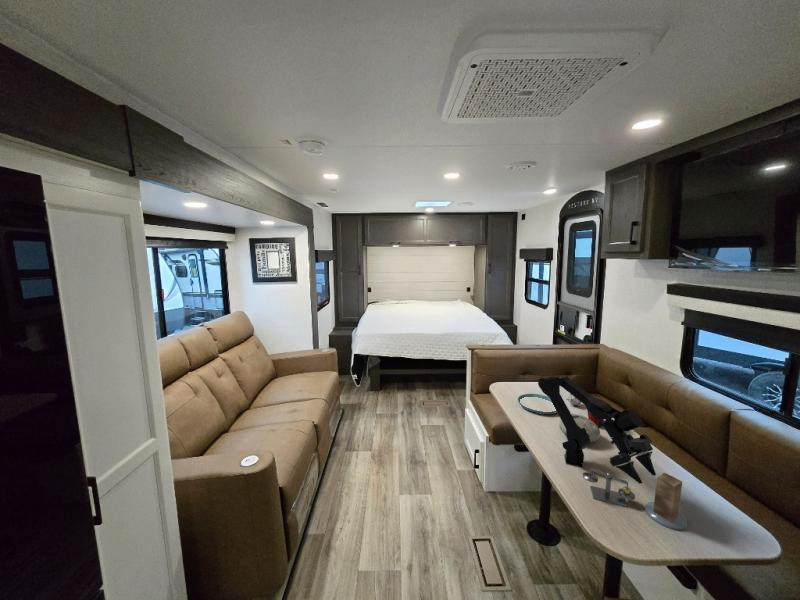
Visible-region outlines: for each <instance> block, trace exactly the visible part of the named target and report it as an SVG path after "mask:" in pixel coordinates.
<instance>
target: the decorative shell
mask: <svg viewBox="0 0 800 600" xmlns="http://www.w3.org/2000/svg"><path fill="white" fill-rule="evenodd" d="M571 415H572V417H573V418H574V420H575V422H576V424H577V425H578V426H579V427H580V428H585V429H586V432H587V434H588V435H589V436H590V437H589V438H590V443H593V442H596V441H598V440H599V439H600V437H601V429H600V428H598V426H597V425H596V424H595V423H594V422H592V421H591V420H589V418H588V417H586V416H584V415H582V414H581V415H580V414H575V413H571ZM558 427H559V429H560V431H561V432H562V433H563V434H565V435H566V428H565V426H564V424H563V422H562V420H561V419H560V421H559V425H558Z"/></svg>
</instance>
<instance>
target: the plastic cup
mask: <svg viewBox="0 0 800 600" xmlns="http://www.w3.org/2000/svg"><path fill="white" fill-rule="evenodd" d="M586 410H587V409H586ZM586 412H587V418H588V419H589V420H591V421H592V422H594V423H595V424H596V425H597V426H598V423H599V420H598V419H596V418H594V417H593V416H592V415H591V414H590V413H589V412H588V410H587V411H586ZM602 420H604V421H605V419H602Z"/></svg>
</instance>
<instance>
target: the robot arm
mask: <svg viewBox="0 0 800 600" xmlns="http://www.w3.org/2000/svg"><path fill="white" fill-rule="evenodd" d="M537 385H538V387H539V388H540V390H541V392H542V393H543V394H544V395H545V396H548V397H549V398H550V400H551V401H552V403H553V405H554V407H555V409H556V411H557V412H556V413H557V414H558V416H559V418H560V420H562V422H563V424H564V426H565V428H566V434H565V436H566V439H567V441H564V442H562V443H561V444H562V448H563V449H564V450H565V453H564V461H565V464H567V465H569V466H570V465H571V466H575V467H580V468H583V467H584V462H585V461H584V460H585V453H584V451H583V450H584V449H586V448H587V447H589V446H590V445H591V442H590V438H589V437H590V436H589V435H588V434H587V432H586V429H585V428H580V427H579V426H578V425H577V424H576V422H575V420H574V418H573V417H572V415H571V414H572V413H571V410H569V407H568V405H567V404H566V402H565V400H564V398H563V397H562V394H561V392H560V390H561V388H563V389H564V390H565V391H566V392H568V394H569V395H570V394H571V395H573V396H574V397H575V398H576V399H578V400H579V401H580V402H581V404H582V405H583V406H585V409H586V410H588V412H589V413H590V414H591V415H592V416H593V417H594V418H596V419H598V420H599V423H598V428H599V429H600V428H603V429H604V430H605V432H606V433H607V435H608V436H609V437H610V439H611V441H610V443H611V445H615V447H616V448H617V450H618V452H617V454H615V455H613V456H611V457H609V463H610V465H611V466H612V467H615V468H616V469H619V470H620V471H622V472H623V473H625V474H626V475H628V476H629V477H630V478H631V479H633V480H634V481H636V483H638V484H643V481H642V479H641V477H640V475H639V474H638V472H637V470H636V469H635V465H634V463H635V462H634V460H632V458H633V457H634V458H635V459H636V460H637V461H638V462H639V463H640V464H641V466H643V467H644V468H645V470H646V471H648V473H650V474H651V475H652V476H656V475H657V472H656V470H655V467H654V465H653V462H652V458H651V457H652V453H653V451H652V450H654V448H653V447H652V443H653V440H652V439H651V438H650V437H649V435H647V434H646V433H645V434H640V435H639V437H633V435H632V434H630V433H629V434H627V432H630V431H633V430H636V429H638V428H641V427H643V425H644V424H643V420H642V418H641V417H640V415H638V414H637V413H636V412H635V411H632V410H631V408H626V409H623V410H622V411H621V410H618V409H617V408H614V407H613V406H612V405H611V404H610V403H608V402H607V401H605V400H603V399H601V398H597V397H595V396H593V395H591V394H590V393H589V392H587V391H586V390H584V389H583V388H582V387H580V386H579V385H578V384H576V382H574V381H573V380H572V379H570V378H569V377H568V376H566V375H563V376H557V377H556V376H553V375H548V376H544V377H541V378H539V380H538V381H537ZM560 387H561V388H560ZM588 412H587V413H588ZM602 419H604V420H602Z"/></svg>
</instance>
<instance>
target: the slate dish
mask: <svg viewBox="0 0 800 600" xmlns="http://www.w3.org/2000/svg"><path fill="white" fill-rule="evenodd" d="M653 509H654V501H648V502H647V503H645V507H644V510H645V513H646V514H647V516H648V517H649V518H650V519H652V521H654V522H656V523H657V524H659V525H660V526H662V527H665V528H668V529H670V530H675V531H683V530H685V529H686V528H687V526H688V521H687V520H688V519H686V517H685V516H684V515H683V514H682V513H681V512H680V511H679V513H678V517H677V518H675V519H674V520H673V521H671V522H670V521H668V520H667V519H665V518H663V517H662V516H660V515H658V514H657V513H655V512H653Z"/></svg>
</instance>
